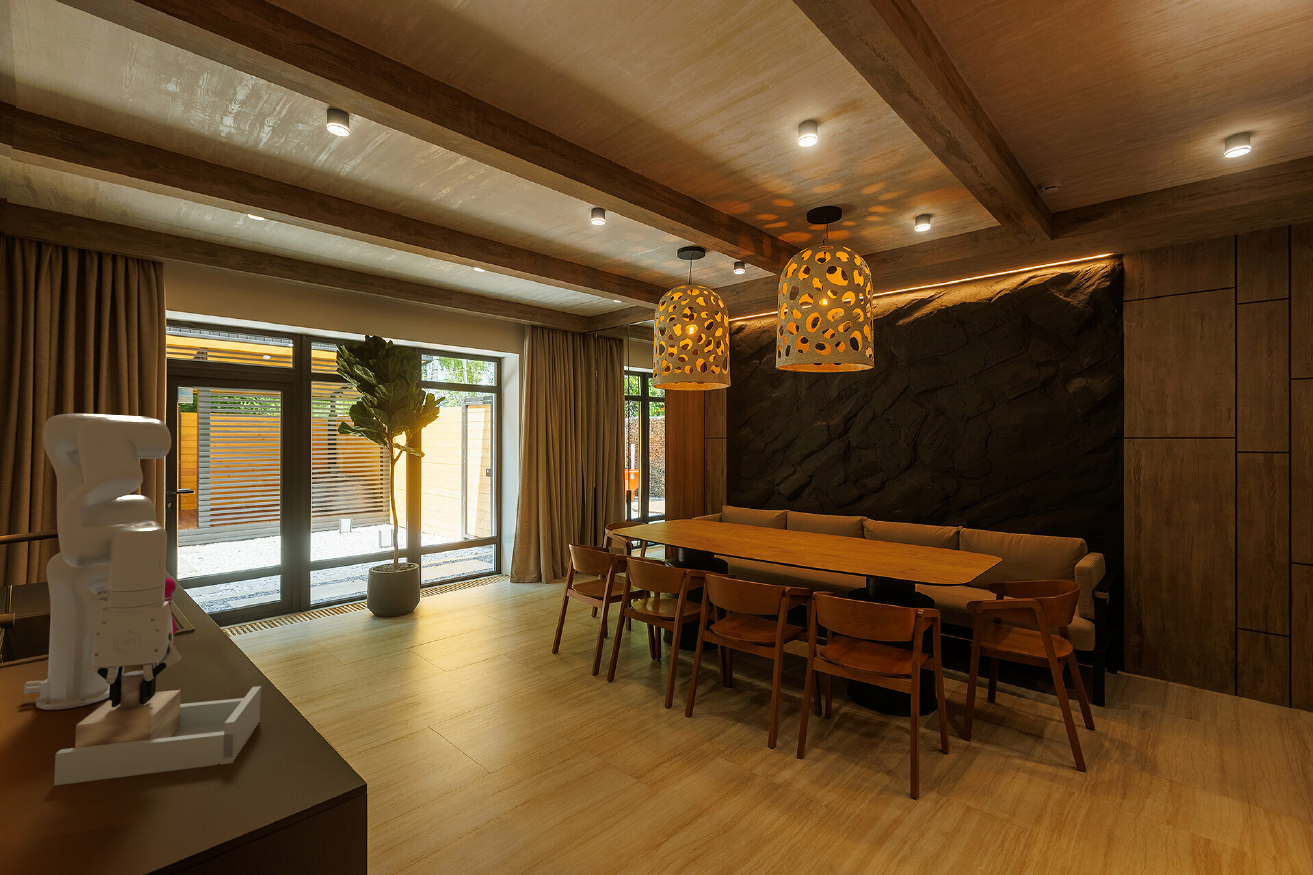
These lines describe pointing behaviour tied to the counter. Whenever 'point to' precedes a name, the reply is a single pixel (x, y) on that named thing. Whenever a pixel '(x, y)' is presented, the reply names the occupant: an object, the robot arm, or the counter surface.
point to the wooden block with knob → (131, 716)
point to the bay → (169, 744)
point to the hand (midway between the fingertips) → (132, 701)
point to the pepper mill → (170, 598)
